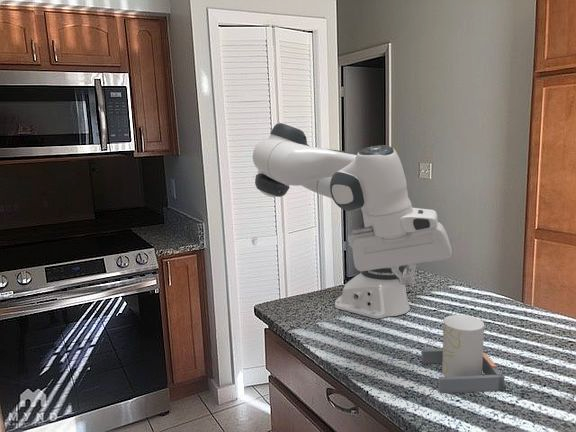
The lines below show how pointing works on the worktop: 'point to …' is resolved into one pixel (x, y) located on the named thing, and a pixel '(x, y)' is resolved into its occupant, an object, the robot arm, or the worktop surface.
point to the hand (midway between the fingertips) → (407, 283)
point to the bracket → (466, 383)
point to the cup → (462, 346)
